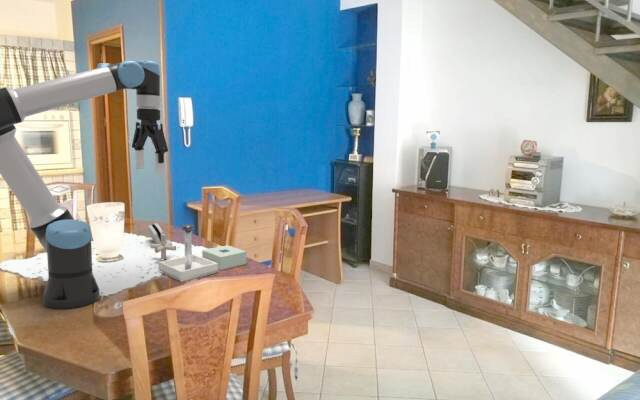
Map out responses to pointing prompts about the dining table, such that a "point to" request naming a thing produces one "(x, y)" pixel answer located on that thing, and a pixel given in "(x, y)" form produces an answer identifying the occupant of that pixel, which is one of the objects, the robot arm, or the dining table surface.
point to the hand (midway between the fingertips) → (149, 170)
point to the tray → (178, 272)
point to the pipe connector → (163, 246)
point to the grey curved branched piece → (156, 233)
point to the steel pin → (188, 245)
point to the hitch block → (225, 256)
